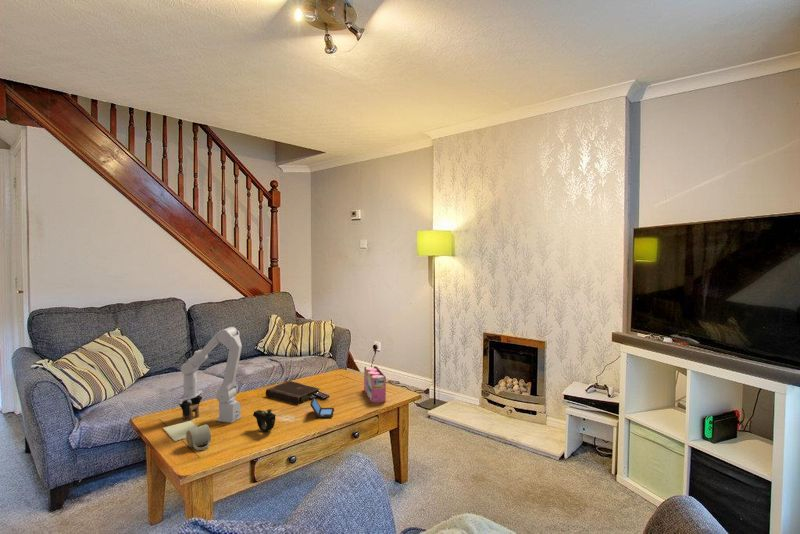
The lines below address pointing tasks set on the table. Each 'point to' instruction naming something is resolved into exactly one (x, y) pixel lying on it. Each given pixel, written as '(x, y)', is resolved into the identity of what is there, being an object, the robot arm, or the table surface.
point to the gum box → (375, 384)
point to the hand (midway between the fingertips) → (190, 413)
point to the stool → (191, 408)
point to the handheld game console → (321, 410)
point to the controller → (265, 419)
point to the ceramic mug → (199, 437)
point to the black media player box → (291, 392)
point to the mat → (179, 430)
